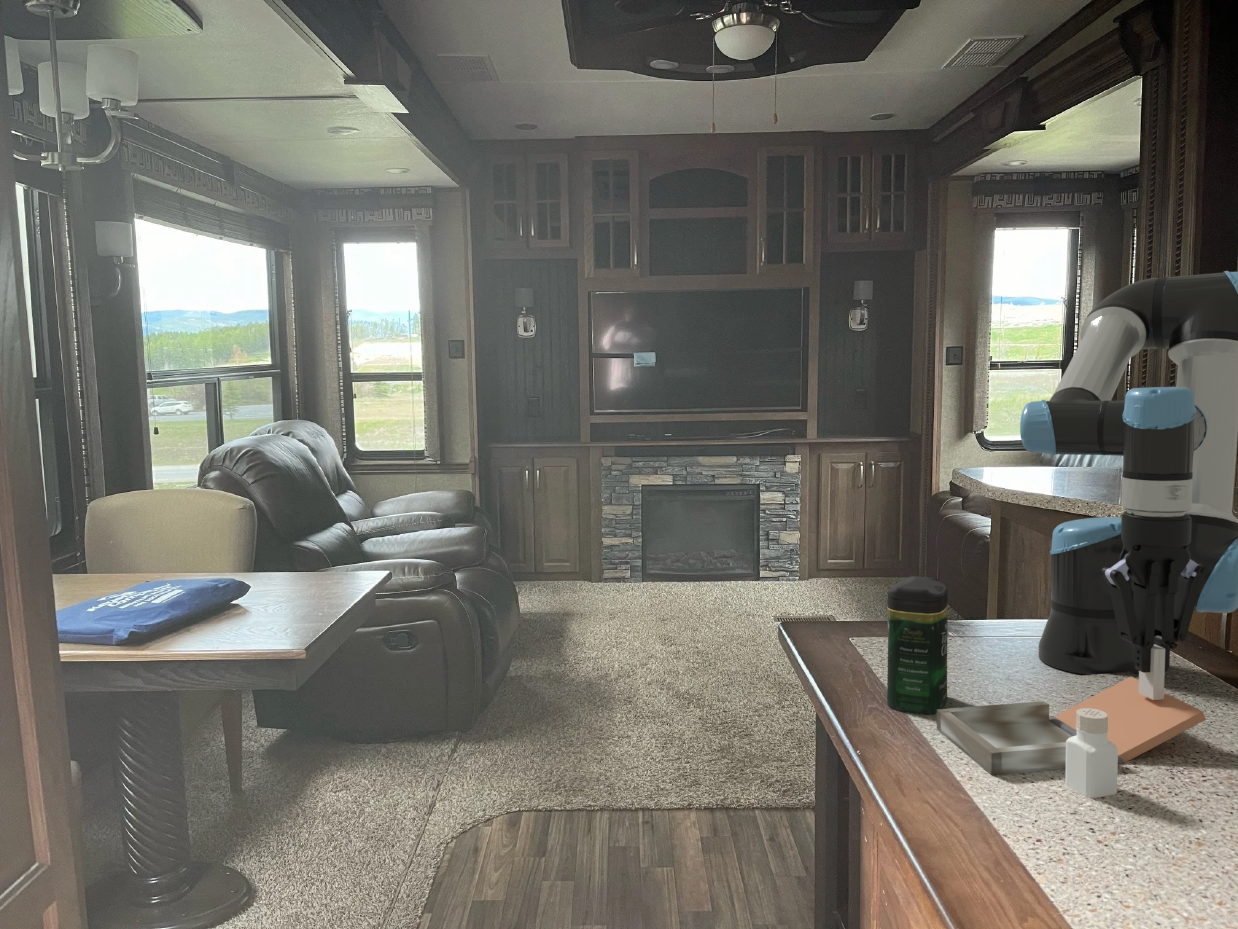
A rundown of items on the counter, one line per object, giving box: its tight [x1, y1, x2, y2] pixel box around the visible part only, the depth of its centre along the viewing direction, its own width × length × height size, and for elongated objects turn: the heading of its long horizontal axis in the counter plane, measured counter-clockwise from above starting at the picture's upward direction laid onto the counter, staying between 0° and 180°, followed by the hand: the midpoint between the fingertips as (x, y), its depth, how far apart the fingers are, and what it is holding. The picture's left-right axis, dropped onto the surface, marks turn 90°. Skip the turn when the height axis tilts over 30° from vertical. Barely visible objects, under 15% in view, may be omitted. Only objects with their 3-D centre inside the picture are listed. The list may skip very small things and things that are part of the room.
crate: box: [936, 700, 1073, 776], centre depth 113 cm, size 15×14×4 cm
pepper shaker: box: [1064, 708, 1119, 799], centre depth 101 cm, size 4×4×10 cm
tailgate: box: [1049, 676, 1207, 764], centre depth 115 cm, size 1×13×13 cm
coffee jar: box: [886, 575, 949, 716], centre depth 129 cm, size 10×8×19 cm
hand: (1151, 695), depth 115 cm, fingers closed
